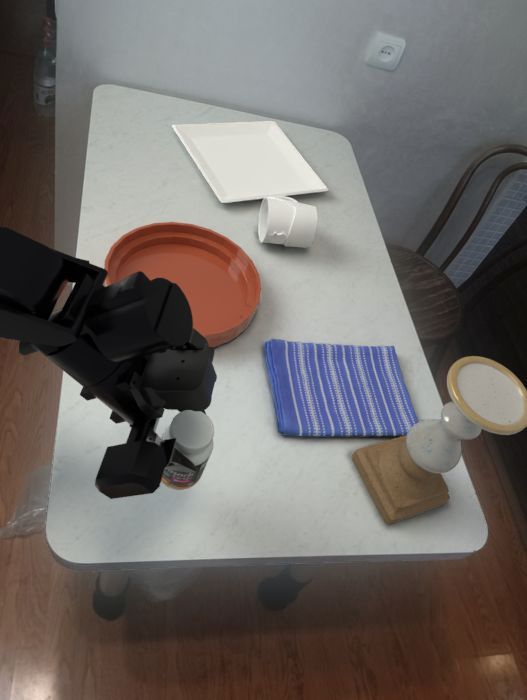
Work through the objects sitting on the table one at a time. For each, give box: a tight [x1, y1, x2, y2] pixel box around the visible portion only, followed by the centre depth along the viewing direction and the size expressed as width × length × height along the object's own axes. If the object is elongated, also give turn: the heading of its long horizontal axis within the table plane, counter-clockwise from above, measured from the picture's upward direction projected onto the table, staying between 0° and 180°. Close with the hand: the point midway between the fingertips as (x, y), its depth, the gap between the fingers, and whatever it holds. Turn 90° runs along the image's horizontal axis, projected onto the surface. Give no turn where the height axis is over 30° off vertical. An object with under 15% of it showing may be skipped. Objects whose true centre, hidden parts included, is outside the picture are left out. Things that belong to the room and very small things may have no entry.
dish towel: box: [263, 337, 419, 438], centre depth 85 cm, size 17×24×3 cm
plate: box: [171, 120, 330, 204], centre depth 116 cm, size 26×26×2 cm
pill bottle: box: [161, 410, 215, 491], centre depth 60 cm, size 6×6×10 cm
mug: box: [257, 196, 319, 249], centre depth 102 cm, size 12×9×8 cm
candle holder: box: [351, 355, 527, 525], centre depth 69 cm, size 11×11×24 cm
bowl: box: [103, 221, 263, 348], centre depth 89 cm, size 25×25×4 cm
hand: (199, 446), depth 59 cm, fingers closed on pill bottle, 6 cm apart
